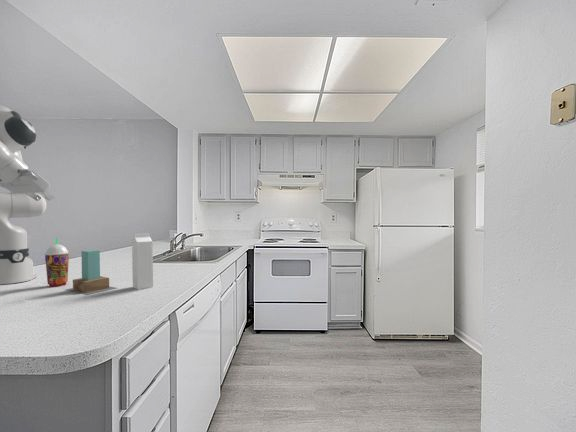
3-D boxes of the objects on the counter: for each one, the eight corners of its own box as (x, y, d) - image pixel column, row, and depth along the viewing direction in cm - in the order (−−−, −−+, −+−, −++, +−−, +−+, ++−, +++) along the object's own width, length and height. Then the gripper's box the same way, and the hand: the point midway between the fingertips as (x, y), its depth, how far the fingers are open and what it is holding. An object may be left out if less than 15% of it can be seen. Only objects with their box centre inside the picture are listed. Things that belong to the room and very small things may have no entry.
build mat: (64, 290, 130) (64, 289, 130) (94, 284, 140) (94, 283, 140) (87, 296, 122) (87, 294, 122) (118, 289, 132) (118, 288, 132)
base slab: (73, 289, 129) (72, 279, 129) (96, 285, 137) (96, 275, 137) (86, 292, 125) (85, 282, 125) (109, 287, 133) (109, 277, 133)
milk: (153, 288, 134) (152, 233, 133) (137, 290, 130) (137, 234, 129) (147, 285, 138) (147, 232, 138) (132, 287, 134) (131, 233, 134)
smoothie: (49, 289, 132) (48, 239, 132) (42, 286, 137) (41, 237, 137) (73, 285, 139) (72, 237, 138) (65, 282, 144) (64, 236, 143)
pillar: (81, 279, 130) (81, 251, 130) (93, 277, 134) (93, 249, 134) (88, 280, 128) (87, 251, 128) (100, 278, 132) (99, 250, 132)
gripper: (34, 162, 113) (66, 192, 122) (7, 166, 123) (38, 194, 132) (19, 175, 109) (53, 205, 118) (-8, 178, 119) (25, 205, 128)
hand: (45, 199), depth 125 cm, fingers open, 8 cm apart
